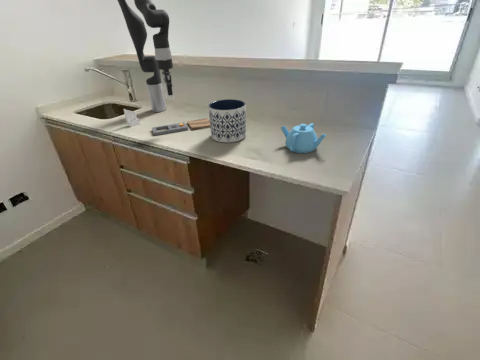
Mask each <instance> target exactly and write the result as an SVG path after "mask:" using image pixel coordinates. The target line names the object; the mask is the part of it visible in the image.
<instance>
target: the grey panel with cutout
mask: <svg viewBox="0 0 480 360" xmlns="http://www.w3.org/2000/svg"><path fill="white" fill-rule="evenodd" d="M151 130H152V133H153V135H155V136H160V134H161V135H167V134H172V133H177V132H178V133H179V132H183V131H189V127H188V124H186V123H185V122H178V123H171V124H167V125H160V126H153V127H151Z"/></svg>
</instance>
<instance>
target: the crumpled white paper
mask: <svg viewBox="0 0 480 360" xmlns="http://www.w3.org/2000/svg"><path fill="white" fill-rule="evenodd" d="M123 113H124V116H125V119H126V124H127V126H128V127H130V126H131V128H132V127H135V126H137V125H140V124H141V122H140V119H139V118H137V117H138V116H137V114H136V111H132V110H129V109H127V108H123Z"/></svg>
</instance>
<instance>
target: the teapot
mask: <svg viewBox="0 0 480 360" xmlns="http://www.w3.org/2000/svg"><path fill="white" fill-rule="evenodd" d="M314 127H315V125H314V123H312V122H311V123H309V124H306V123H300V124H299V125H295V126H293V128H291V129H290V131H289V129H288V128H287V127H286V125H283V126H282V127H280V129H281V131H282V134H283V135H284V137H285V147H287V149H288V150H289V151H291V152H293V153H296V154H308V153H309V152H310V153H313V151H315V150H316V149H317V147H319V145H320V144H321V143H322V142H323V140H324V139H325V138H326V137H327V134H326V133H322V134H321V135H320V136H319V137H318V135H317V133H316V131H315V130H314Z"/></svg>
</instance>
